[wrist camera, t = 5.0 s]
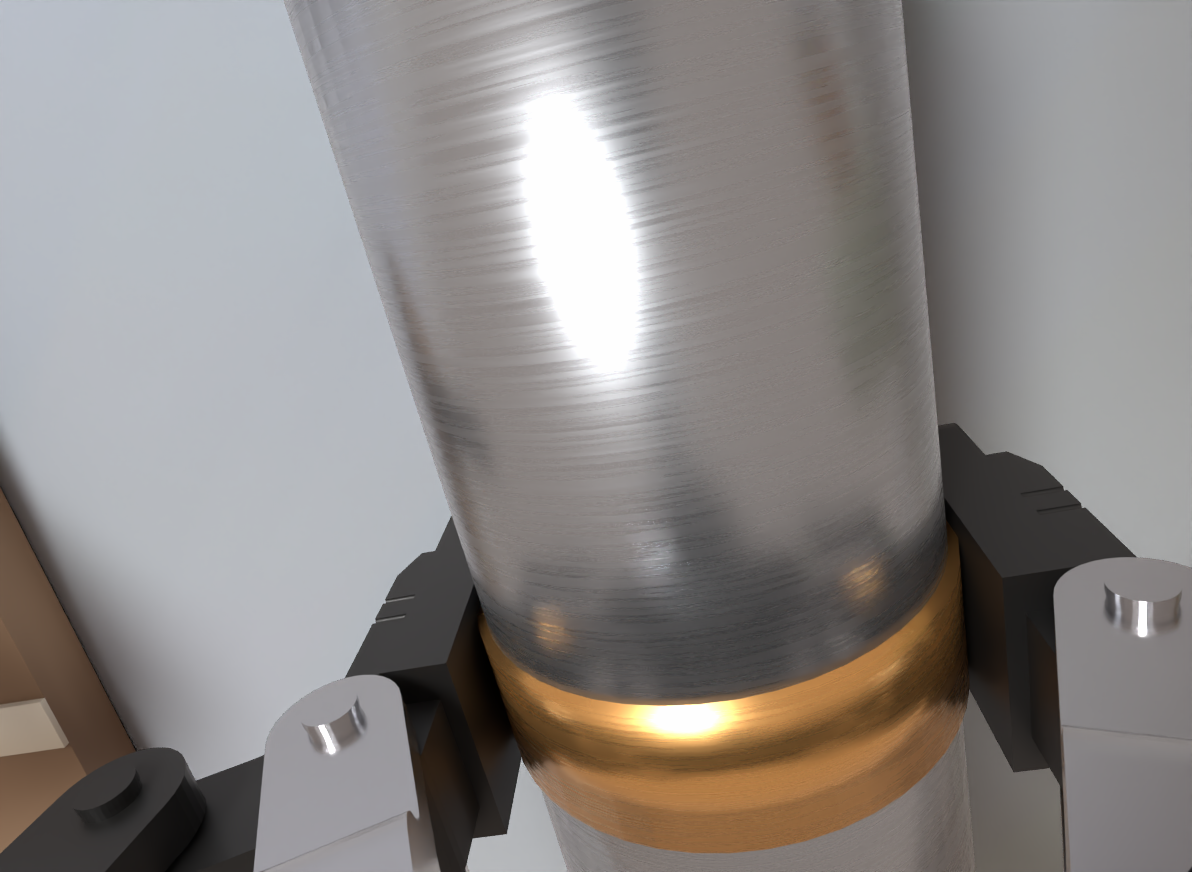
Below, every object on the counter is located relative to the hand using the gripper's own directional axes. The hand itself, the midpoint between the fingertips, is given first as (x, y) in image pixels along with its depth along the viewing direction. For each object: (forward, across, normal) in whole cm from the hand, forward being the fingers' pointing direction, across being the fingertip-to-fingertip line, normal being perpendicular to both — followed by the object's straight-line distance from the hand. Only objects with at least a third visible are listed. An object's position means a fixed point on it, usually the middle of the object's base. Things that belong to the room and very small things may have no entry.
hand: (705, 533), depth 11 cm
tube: (+1, 0, 0) cm, 1 cm away
